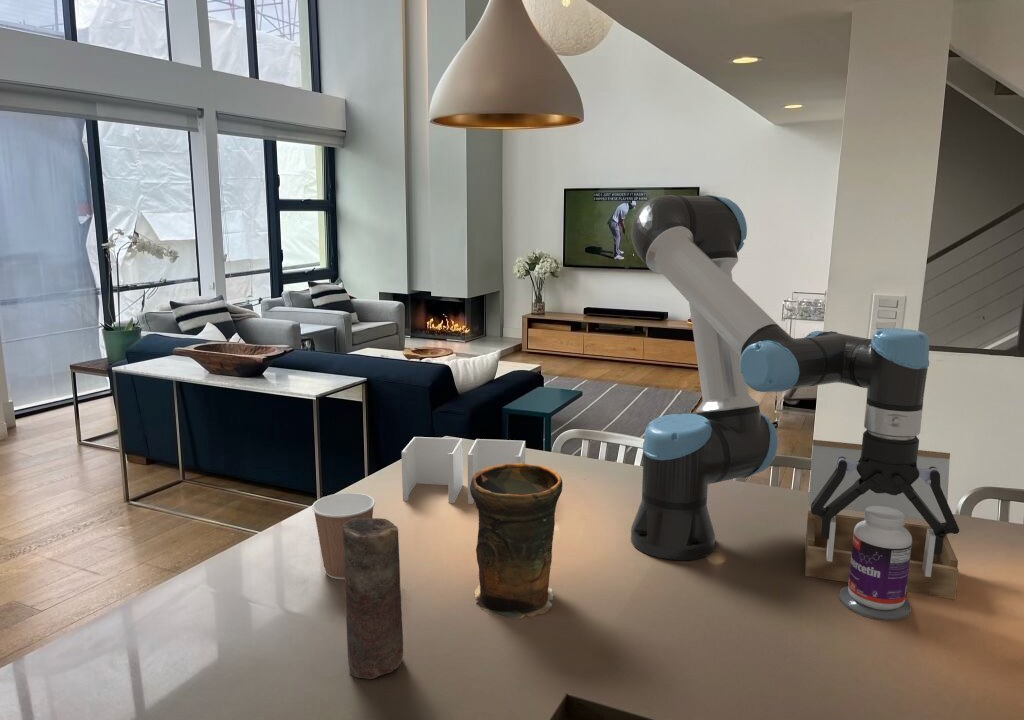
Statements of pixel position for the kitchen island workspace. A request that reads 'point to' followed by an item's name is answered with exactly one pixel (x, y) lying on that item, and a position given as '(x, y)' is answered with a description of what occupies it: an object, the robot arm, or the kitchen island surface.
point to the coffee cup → (338, 526)
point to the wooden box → (839, 568)
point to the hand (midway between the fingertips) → (876, 565)
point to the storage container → (453, 461)
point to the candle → (372, 596)
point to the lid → (825, 466)
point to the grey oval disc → (871, 612)
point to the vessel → (515, 537)
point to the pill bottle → (880, 559)
